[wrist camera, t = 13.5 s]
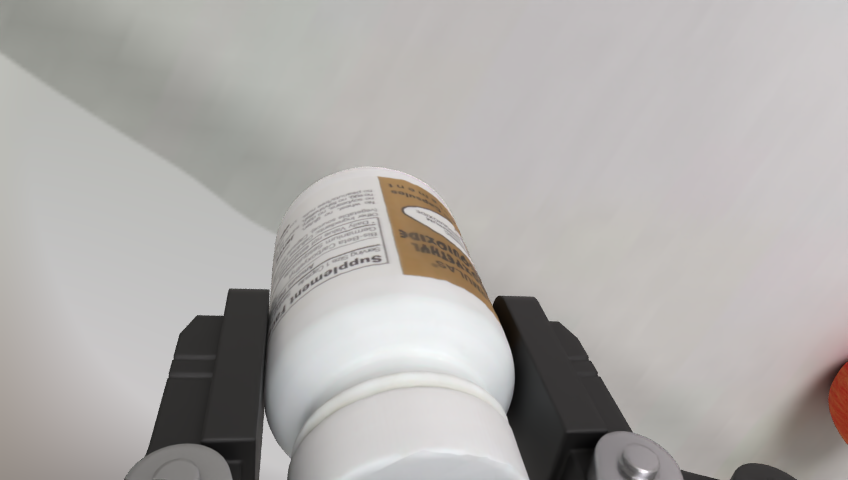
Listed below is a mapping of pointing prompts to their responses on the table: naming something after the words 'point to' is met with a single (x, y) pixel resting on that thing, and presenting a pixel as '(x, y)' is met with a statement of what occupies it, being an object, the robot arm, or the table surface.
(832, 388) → the apple
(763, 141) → the table surface
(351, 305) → the pill bottle
